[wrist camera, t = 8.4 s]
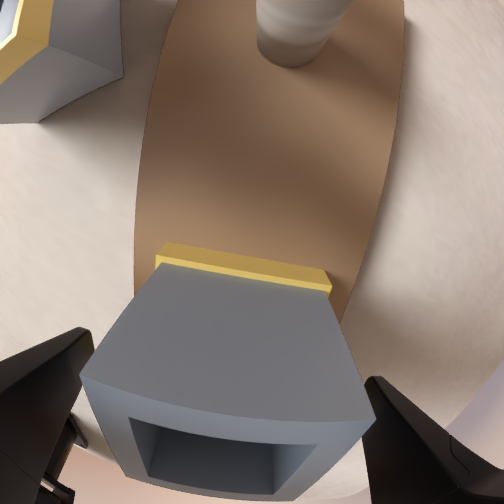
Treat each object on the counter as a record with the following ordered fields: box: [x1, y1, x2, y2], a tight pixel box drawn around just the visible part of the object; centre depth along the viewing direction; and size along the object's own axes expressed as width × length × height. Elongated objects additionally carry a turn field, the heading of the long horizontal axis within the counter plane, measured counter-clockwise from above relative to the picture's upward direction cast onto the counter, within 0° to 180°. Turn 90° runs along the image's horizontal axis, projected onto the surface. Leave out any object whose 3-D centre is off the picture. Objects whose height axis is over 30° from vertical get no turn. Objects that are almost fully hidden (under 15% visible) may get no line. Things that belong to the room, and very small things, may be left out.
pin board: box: [134, 0, 404, 324], centre depth 7 cm, size 18×8×5 cm, turn 170°
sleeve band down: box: [79, 242, 376, 501], centre depth 7 cm, size 5×5×6 cm
